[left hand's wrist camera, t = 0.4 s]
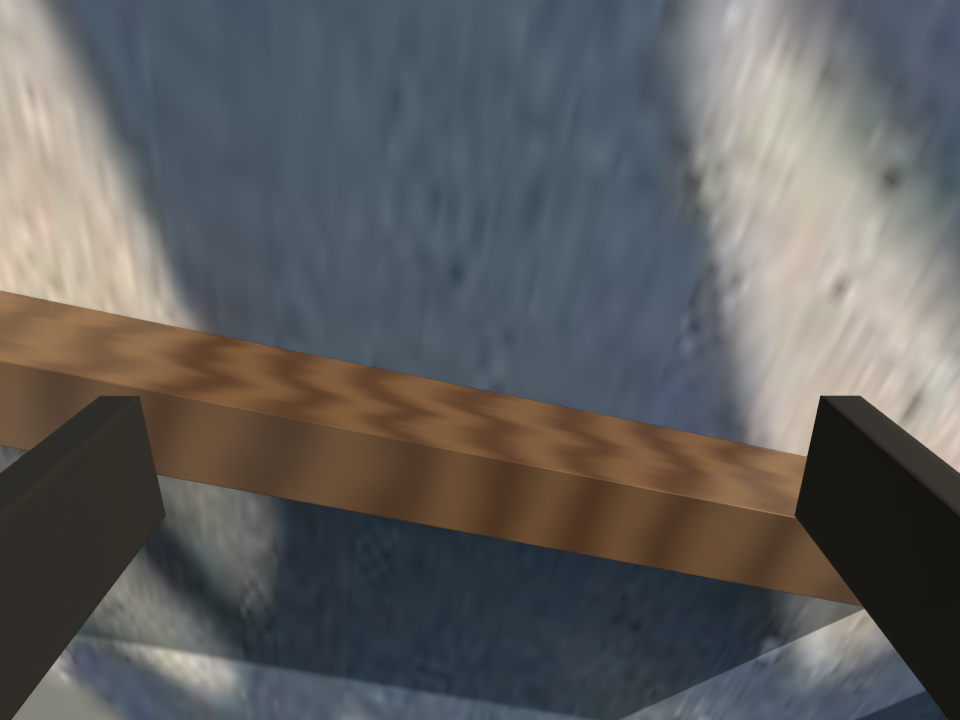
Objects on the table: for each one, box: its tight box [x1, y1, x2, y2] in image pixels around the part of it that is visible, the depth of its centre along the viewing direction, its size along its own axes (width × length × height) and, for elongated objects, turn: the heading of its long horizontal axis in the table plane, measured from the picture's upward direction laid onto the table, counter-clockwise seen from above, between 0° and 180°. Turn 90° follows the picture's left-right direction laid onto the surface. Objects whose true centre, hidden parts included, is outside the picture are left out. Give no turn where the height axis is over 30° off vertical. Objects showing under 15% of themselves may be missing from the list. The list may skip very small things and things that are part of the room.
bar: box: [0, 291, 862, 606], centre depth 39 cm, size 75×5×8 cm, turn 77°
